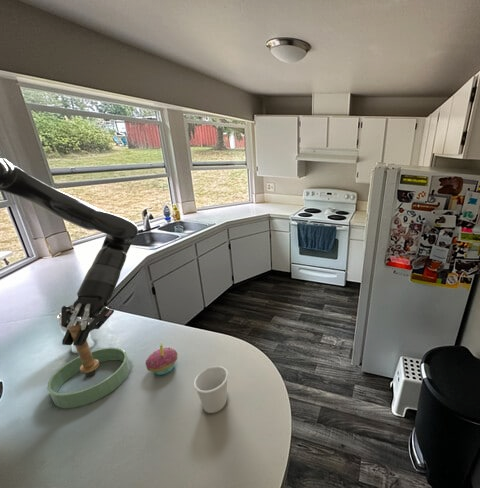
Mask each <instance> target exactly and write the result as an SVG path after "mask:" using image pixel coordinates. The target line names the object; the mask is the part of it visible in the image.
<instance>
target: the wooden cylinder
mask: <svg viewBox="0 0 480 488" xmlns="http://www.w3.org/2000/svg"><path fill="white" fill-rule="evenodd" d="M69 331H70V333H71V336H72V338H73V341H75V339H76V337H77V334H78V332H79V331H81V325H74V326H72V327H70V328H69ZM76 349H77V351H78V353H77V354H78V357H80V359H81V362H82V365H81V367H80V371H79V372H80V373H82V374H85V373H88V372H91V371H93V370H95V369H96V370H97V368H98V367H99V366H100V362H99V361H98V360H94V359H93V356H92V353H91V351H92V350H91V348H89V345H88V342H87V340H86V342H85V343H84V344H83V345H82V346H76Z"/></svg>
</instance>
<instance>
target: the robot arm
mask: <svg viewBox="0 0 480 488" xmlns="http://www.w3.org/2000/svg"><path fill="white" fill-rule="evenodd" d="M0 192H3V193H6V194H10V195H13V196H16V197H18V198H21V199H23V200H26V201H28V202H30V203H32V204H34V205H36V206H38V207H39V208H42V209H43V210H45V211H47V212H49V213H50V214H52V215H54V217H57V218H59V219H61V220H63V221H66V222H68V223H70V224H73V225H75V226H76V227H80V228H81V229H84V230H86V231H97V232H100V233H103V234H104V235H106V236H105V238H104V239H103V242H102V245H101V248H100V249H99V251H98V252H97V253H96V256H95V258H94V260H93V262H92V264H91V265H90V267H89V269H88V270H87V272H86V274H85V276H84V278H83V281H82V282H81V285H80V286H79V288H78V291H77V293H76V296H77V299H76V300H75V301H74V302H73V304H70V305H62V307H61V312H60V313H61V326H62V327H65V328H67V332H66V334H65V336H64V335H63V338H62V341H61V342H62V343H61V344H62V346H71V345H72V344H73V345H75V346H82V345H83V344H84V343H85V342H86V339H87V337H88V335H89V333H91V332H92V331H93V330H99V329H100V328H101V327H102V326H103V325H104V324H105V323H106V322H107V321H108V320H109V318H110V317H111V316H112V315H113V314H114V313H115V310H114V309H112V308H109V307H108V301H110V300H111V299H112V297H113V294H114V292H115V289H116V287H117V284H118V282H119V279H120V277H121V272H122V270H123V268H124V265H125V262H126V260H127V254H128V252H129V251H130V247H131V245H132V244H133V241H134V240H135V239H136V237H137V236H138V233H139V229H138V226H137V225H136V223H134V222H133V221H131V220H129V219H128V218H126V217H122V216H120V215H117V214H113V213H111V212H108V211H107V212H106V211H104V210H102V209H100V208H97V207H96V206H93V205H91V204H89V203H87V202H85V201H83V200H80V199H78V198H76V197H74V196H72V195H71V194H68V193H65V192H63V191H61V190H59V189H57V188H54V187H53V186H51V185H49V184H46V183H45V182H43V181H41V180H39V179H37V178H36V177H34V176H32V175H30V174H29V173H28V172H26V171H24V170H22V169H21V168H20V167H18V166H17V165H15V164H13V163H12V162H11V161H9V160H8V159H6V158H5V157H3V156H1V155H0ZM77 317H81V318H77ZM76 321H77V323H76ZM75 323H76V324H75ZM88 323H89V325H88ZM81 324H82V326H81V331H79V332H78V334H77V337H76V339H75V341H73V338H72V336H71V333H70V331H69V328H70V327H72V326H74V325H81ZM73 342H74V343H73Z"/></svg>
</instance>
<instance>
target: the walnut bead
mask: <svg viewBox="0 0 480 488" xmlns="http://www.w3.org/2000/svg"><path fill="white" fill-rule="evenodd" d="M96 372H97V368H96V369H95V370H93V371H91V372H88V373H84V374H85V376H86V377H92V376H94V375H95V374H96Z"/></svg>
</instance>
